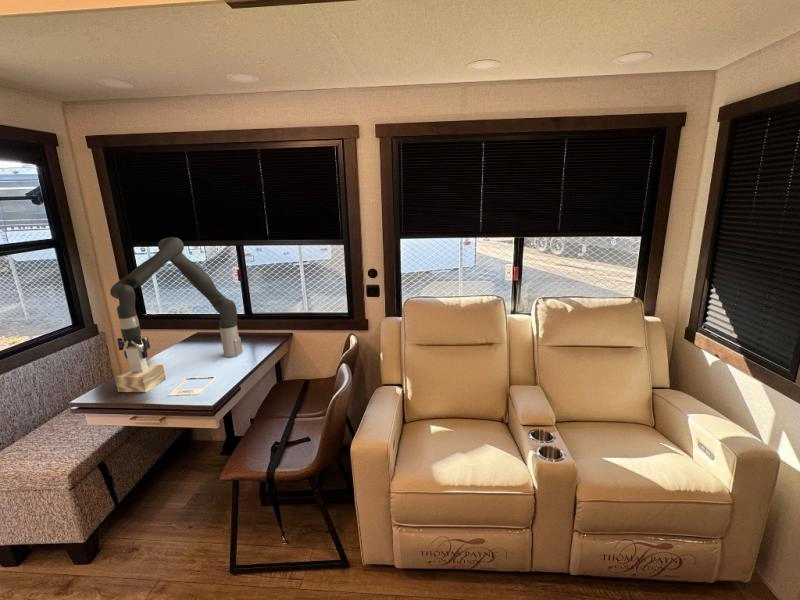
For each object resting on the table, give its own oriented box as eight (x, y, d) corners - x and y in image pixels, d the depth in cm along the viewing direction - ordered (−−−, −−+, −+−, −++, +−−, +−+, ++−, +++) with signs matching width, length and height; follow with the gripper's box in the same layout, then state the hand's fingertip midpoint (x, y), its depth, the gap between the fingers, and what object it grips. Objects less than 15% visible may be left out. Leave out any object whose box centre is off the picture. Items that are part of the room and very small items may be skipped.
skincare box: (148, 368, 191) (143, 345, 188) (142, 372, 186) (137, 348, 183) (136, 368, 191) (131, 345, 188) (130, 372, 187) (124, 349, 184)
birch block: (165, 379, 197) (162, 364, 195) (145, 392, 183) (142, 377, 181) (140, 379, 198) (136, 364, 196) (118, 392, 185) (114, 377, 183)
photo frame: (167, 394, 179) (186, 377, 196) (168, 397, 179) (186, 379, 197) (199, 393, 180) (215, 376, 197) (200, 395, 180) (216, 378, 197)
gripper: (149, 323, 186) (156, 355, 190) (121, 323, 187) (128, 355, 191) (138, 328, 179) (145, 361, 183) (109, 328, 180) (116, 361, 184)
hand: (136, 358), depth 187 cm, fingers open, 8 cm apart
